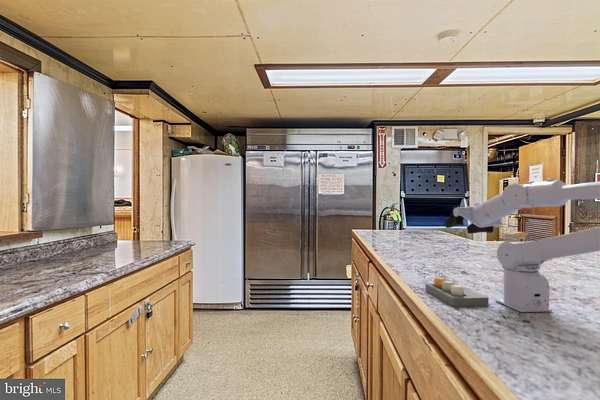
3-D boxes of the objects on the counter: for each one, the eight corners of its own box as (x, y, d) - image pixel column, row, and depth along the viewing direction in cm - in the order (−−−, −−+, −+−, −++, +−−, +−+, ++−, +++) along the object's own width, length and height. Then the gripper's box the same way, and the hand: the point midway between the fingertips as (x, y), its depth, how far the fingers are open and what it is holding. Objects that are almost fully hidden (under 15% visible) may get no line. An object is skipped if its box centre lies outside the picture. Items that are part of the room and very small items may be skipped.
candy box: (514, 277, 123) (515, 231, 123) (528, 280, 120) (529, 232, 120) (503, 281, 117) (503, 232, 117) (517, 283, 114) (518, 233, 114)
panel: (488, 305, 90) (488, 297, 90) (453, 306, 89) (453, 298, 89) (455, 290, 105) (455, 283, 105) (425, 291, 104) (425, 283, 104)
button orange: (447, 288, 101) (448, 279, 101) (437, 288, 100) (437, 279, 100) (442, 285, 104) (442, 277, 104) (432, 286, 103) (432, 277, 103)
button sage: (456, 292, 96) (456, 283, 96) (445, 292, 96) (445, 283, 96) (450, 289, 99) (450, 280, 99) (440, 290, 99) (440, 281, 99)
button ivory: (466, 297, 92) (466, 287, 92) (454, 297, 91) (454, 287, 91) (459, 294, 95) (459, 284, 95) (448, 294, 94) (448, 285, 94)
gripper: (512, 203, 102) (476, 220, 114) (468, 190, 98) (435, 209, 110) (516, 226, 99) (478, 242, 110) (471, 214, 95) (437, 231, 107)
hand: (457, 227), depth 110 cm, fingers open, 7 cm apart
